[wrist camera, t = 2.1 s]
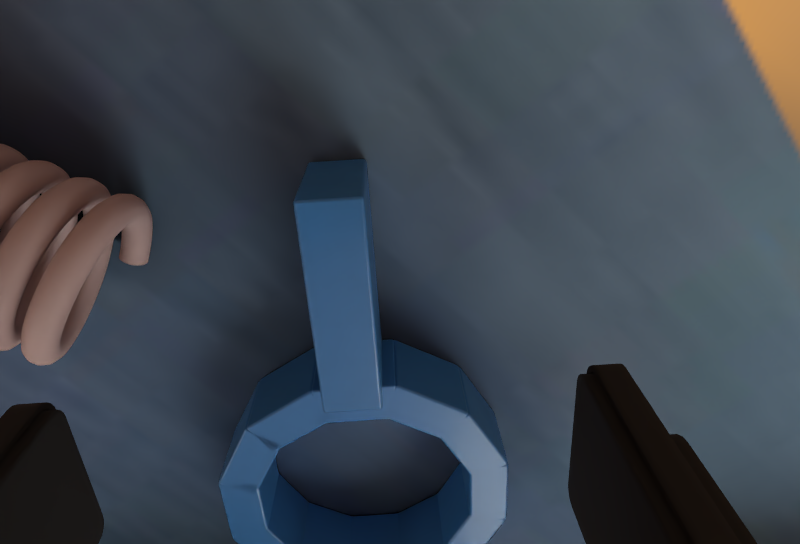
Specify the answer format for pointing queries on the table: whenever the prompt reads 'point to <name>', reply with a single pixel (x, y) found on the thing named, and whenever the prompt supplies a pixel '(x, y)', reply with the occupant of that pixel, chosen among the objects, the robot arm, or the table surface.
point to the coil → (58, 251)
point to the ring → (358, 396)
